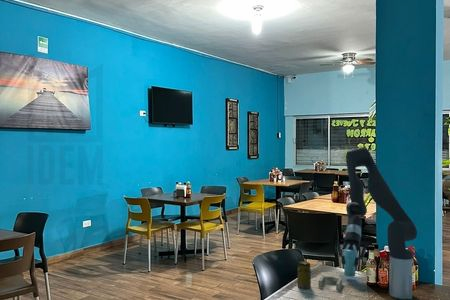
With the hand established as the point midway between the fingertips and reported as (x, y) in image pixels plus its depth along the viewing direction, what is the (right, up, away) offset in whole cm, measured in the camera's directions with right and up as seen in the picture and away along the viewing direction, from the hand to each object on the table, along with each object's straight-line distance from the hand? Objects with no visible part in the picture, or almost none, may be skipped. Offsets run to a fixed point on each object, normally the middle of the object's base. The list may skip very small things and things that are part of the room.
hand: (349, 264), depth 194 cm
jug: (0, -5, +1) cm, 5 cm away
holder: (-11, -8, -7) cm, 16 cm away
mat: (+1, -8, +2) cm, 8 cm away
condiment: (-23, -9, -10) cm, 27 cm away
